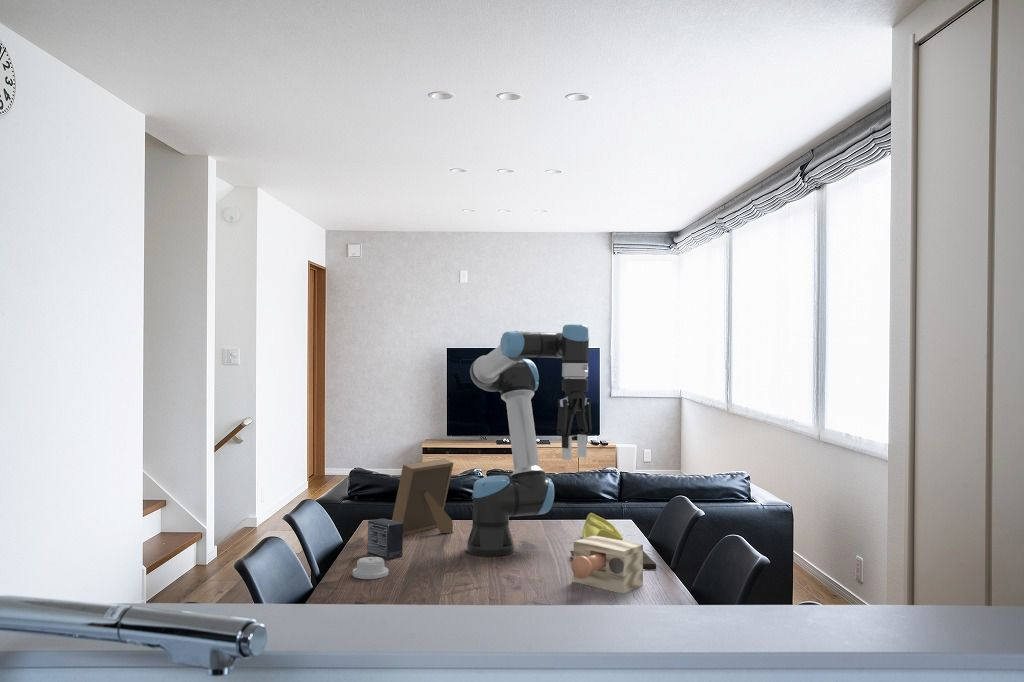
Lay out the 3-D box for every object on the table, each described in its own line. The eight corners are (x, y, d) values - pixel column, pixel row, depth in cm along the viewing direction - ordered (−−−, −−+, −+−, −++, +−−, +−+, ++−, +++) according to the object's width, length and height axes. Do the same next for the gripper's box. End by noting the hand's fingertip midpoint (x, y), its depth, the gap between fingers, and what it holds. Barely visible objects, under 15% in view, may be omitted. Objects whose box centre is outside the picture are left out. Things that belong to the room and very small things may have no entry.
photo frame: (389, 535, 255) (391, 462, 255) (431, 524, 272) (433, 457, 273) (420, 542, 246) (423, 467, 247) (462, 531, 264) (464, 461, 264)
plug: (588, 580, 189) (589, 558, 189) (571, 576, 193) (571, 554, 193) (612, 571, 198) (612, 550, 198) (595, 567, 201) (595, 547, 202)
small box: (404, 556, 227) (404, 522, 227) (387, 560, 222) (387, 525, 223) (383, 550, 234) (383, 517, 235) (366, 554, 229) (367, 520, 230)
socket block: (621, 594, 191) (622, 551, 192) (571, 582, 202) (572, 541, 202) (642, 585, 200) (643, 544, 200) (593, 574, 210) (593, 535, 210)
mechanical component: (344, 576, 205) (371, 582, 200) (345, 560, 206) (371, 566, 200) (369, 568, 214) (395, 574, 209) (370, 553, 214) (396, 558, 209)
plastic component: (625, 539, 243) (598, 527, 242) (614, 559, 243) (588, 547, 242) (611, 522, 263) (586, 510, 262) (602, 540, 263) (577, 529, 262)
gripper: (565, 378, 201) (564, 462, 200) (604, 378, 216) (604, 456, 216) (543, 378, 206) (543, 460, 205) (583, 377, 221) (583, 454, 220)
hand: (574, 458), depth 210 cm, fingers open, 7 cm apart
